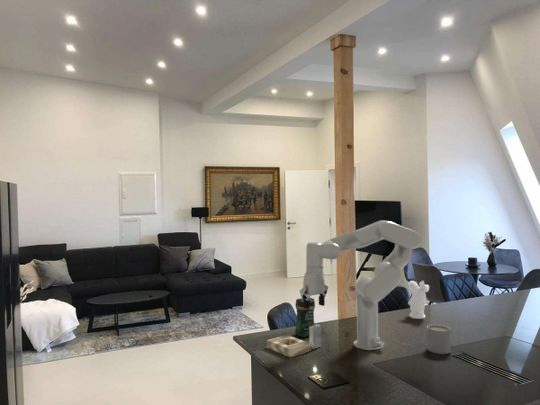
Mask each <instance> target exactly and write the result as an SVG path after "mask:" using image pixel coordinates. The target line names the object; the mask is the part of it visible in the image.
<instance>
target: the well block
mask: <svg viewBox="0 0 540 405" xmlns="http://www.w3.org/2000/svg"><path fill="white" fill-rule="evenodd" d="M267 349H270V350H271V351H273V352H276V353H279V354H281V355H283V356H286V357H288V358H294V357H296V356H297V357H298V356H301V355H303V354H306V352H307V353H310V352H311V350H312V349H311V347H310V343H308V342H307V341H305V340H302V339H299V338H297V337H294V336H291V335H288V334H284V335H281V336H277V337H274V338H271V339H267ZM309 351H310V352H309Z"/></svg>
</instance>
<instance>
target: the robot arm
mask: <svg viewBox="0 0 540 405" xmlns="http://www.w3.org/2000/svg"><path fill="white" fill-rule="evenodd" d="M382 240H385V241H388V242H390V243H393V244H394V247H393V249H392V251H391V252H390V254H389V255H388V256H386V257H385V258H384V259H383V260H381V262H380V263H378V264H377V266H375V268H374V270H373V274H374V277H373V278H371V277H368V276H364V277H360V278H359V279H358V280H357V282H356V284H355V299H356V340H354V341H353V346H354V347H355V348H357V349H360V350H362V351H363V350H364V351H377V350H380V349H381V348H384V346H385V342H384V341H381V337H379V302H380V301H382V300H383V299H385V297H386V296H388V295H389V294H390V293H391V292H392V291H393V290H394V289H395V288H397V287H398V285H399V284H400V282H401V281H402V277H403V276H402V275H403V274H402V270H403V269H404V268H405V266H407V264H409V262H410V261H411V258H412V254H413V250H415V249H417V248H419V247H420V245H421V243H422V238H421V235H420V234H419V233H418V232H417V231H415V230H414V229H411V228H408V227H405V226H402V225H400V224H397V223H395V222H393V221H389V220H383V219H382V220H378V221H375V222H373V223H370V224H368V225H366V226H363V227H361V228H358V229H356V230H352V231H350V232H347V233H344V234H341V235H338V236H334V237H332V238H330V239H328V240H326V241H324V242H322V243H321V242H315V241H314V242H308V243H307V244H306V254H305V256H306V257H305V258H306V261H305V263H306V264H305V265H306V266H305V267H306V270H305V273H304V275H303V276H304V277H303V284H302V288H301V289H300V290H299V294H300V297H301V298H302V299H304V308H306V309H309V300H308V299H309V298H311V296H317V295H318V305H319V306H322V307H323V306H324V307H325V300H326V299H325V298H326V296H327V292H328V289H329V286H328V285H326V284H325V275H324V259H325V260H336V259H338V258H339V257H340V256H341V255H342V254H341V253H342V252H344V251H346V250H351V249H362V248H365V247H368V246H370V245H373V244H375V243H378V242H380V241H382Z"/></svg>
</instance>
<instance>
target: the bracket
mask: <svg viewBox="0 0 540 405" xmlns="http://www.w3.org/2000/svg"><path fill="white" fill-rule="evenodd" d="M308 337H309V340H307V341H306V342H308V343H310V347H311V348H312V349H311V350H313V349H314V350H316V349H315V348H317V349H319V348H318V347H320V348H321V347H322V325H320V324H318V323H316V324H314V325H312V326H309V336H308Z"/></svg>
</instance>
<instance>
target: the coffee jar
mask: <svg viewBox="0 0 540 405" xmlns="http://www.w3.org/2000/svg"><path fill="white" fill-rule="evenodd" d="M308 300H309V309H306V308H304V299H302V297H301V298H297V299H296V300H295V308H296V320H295V322H296V323H295V329H294V330H295V335H296V336H298V337H302V338H307V336H308V337H309V326H312V325H315V314H314V313H315V308H316V301H315V298H314V297H313V298H312V297H310V298H309V299H308Z"/></svg>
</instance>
